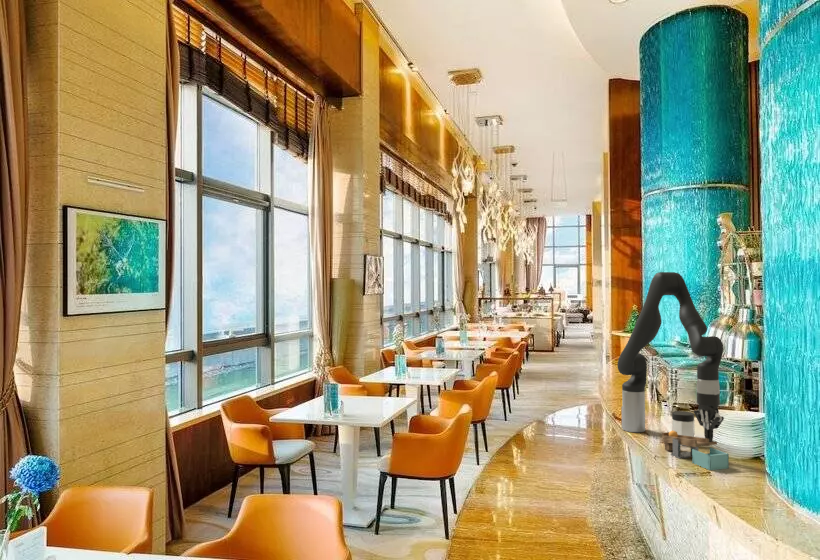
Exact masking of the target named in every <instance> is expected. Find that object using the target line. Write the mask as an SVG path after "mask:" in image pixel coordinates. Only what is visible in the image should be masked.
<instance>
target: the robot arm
mask: <svg viewBox="0 0 820 560" xmlns="http://www.w3.org/2000/svg"><path fill="white" fill-rule="evenodd" d="M664 296H674V297H675V298H676V300H677V301H678V302H679V310H678V312H679V313H678V316H679V321H680V322H681V325H682V326H683V328H684V330H685V331H686V334H687V335H688V340H689V344H690V349H691V351H692V352H693V353H694V354H695V355H696V356H697V357H706V358H705V360H704V361H702V362H700V363H697V366H696V367H697V368H696V372H697V374H696V375H697V377H696V379H697V380H696V403H697V405H698V409H696V410H695V409H694V411H693V413H694V417H696V420H697V422H698V423H699V426H702V428H703V429H704V430H703V433H704V438H707V439H709V440H711V439H714V430H715V429H719V427H720V426H721V424H722V422H723V421H724V419H725V417H724V416H723V415H722V416H721V414H720V413H719V412H720V410H719V406H720V405H721V398H720V397H721V396H720V395H721V393H720V389H721V387H720V380H719V377H720V375H719V374H720V373H719V368H720V366H721V365H720V364H721V360H722V357H723V353H724V343H723V341H722V340H721V338H720V337H718V336H715V335H714V336H703V335H705V334H706V333H707V331H708V327H707V325H706V323H705V321H704V320H703V318H702V316H701V315H700V313H699V311H698V310H697V308H696V306H695V303H694V301H693V299H692V296H691V294H690V292H689V288H688V286H687V284H686V282H685V279H684V277H683V276H682V275H681V274H680V273H679V272H673V271H665V272H664V271H660V272H657V273H655V274H654V275H653V277H652V279H651V280H650V284H649V288H648V291H647V295H646V297H645V300H644V303H643V305H642V308H641V311H640V313H639V316H638V317H637V319H636V322H635V325H634V327H633V329H632V332H631V334H630V335H629V336H630V337H629V338H628V341H627V342H626V345H625V347H624V348H623V350H622V351H621V353H620V355H619V357H618V360H617V370H618V373H620V374H621V375H623V376H630V378H628V380H627V381H624V382H623V383H622V384H621V386H622V387H621V388H622V389H621V396H622V399H621V400H622V403H621V404H622V405H621V407H620V408H621V429H622V430H623V431H626V432H628V433H629V432H630V433H643V432H645V431H646V393H645V391H646V390H645V389H646V385H647V376H648V375H647V373H648V372H647V371H648V370H647V369H648V364H647V359H646V356H644V354H642V353H640V352H641V351H642V350H643V349H644V348H646V346H647V345H649V344H650V343H651V342H652V341H653V340H654V339H655V338H656V336H657V334H658V333H659V330H660V328H661V326H662V316H661V313H660V309H659V307H660V304H661V300H662V299H663V297H664Z"/></svg>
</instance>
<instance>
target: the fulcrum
mask: <svg viewBox="0 0 820 560" xmlns="http://www.w3.org/2000/svg"><path fill="white" fill-rule="evenodd" d="M692 449H694V450H697V451H699V447H692V446H690V451H683V452H681V445H680V440H678V439H675V438H673V450H672V453H670V456H672V457H674V456H675V458H677V459H679V460H682V459H690V458H689V457H692ZM681 458H682V459H681Z"/></svg>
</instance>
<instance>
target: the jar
mask: <svg viewBox="0 0 820 560" xmlns="http://www.w3.org/2000/svg"><path fill="white" fill-rule="evenodd" d="M695 426H696V425H695V414H694V412H691V411H686V410H684V411H683V410H675V411H672V412H671V431H676V432H677V434H678V435H685V436H692V437H694V435H696V431H695V428H696V427H695Z"/></svg>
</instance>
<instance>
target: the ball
mask: <svg viewBox="0 0 820 560" xmlns="http://www.w3.org/2000/svg"><path fill="white" fill-rule="evenodd" d="M668 432H669V436H672V437H678V434H677V432H676V431H672V430H670V431H668Z"/></svg>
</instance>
